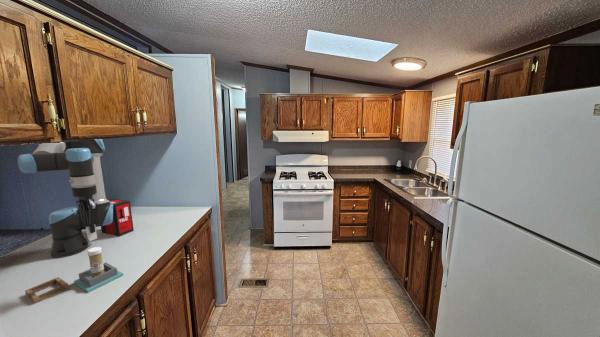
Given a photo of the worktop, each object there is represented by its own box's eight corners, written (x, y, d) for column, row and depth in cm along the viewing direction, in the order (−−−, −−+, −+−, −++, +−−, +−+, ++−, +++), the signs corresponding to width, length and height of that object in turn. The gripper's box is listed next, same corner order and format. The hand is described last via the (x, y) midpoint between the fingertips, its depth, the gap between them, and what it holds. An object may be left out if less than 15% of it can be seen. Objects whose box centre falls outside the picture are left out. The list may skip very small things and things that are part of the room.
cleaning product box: (101, 232, 154) (96, 202, 151) (116, 227, 163) (112, 198, 159) (119, 236, 149) (115, 205, 145) (133, 230, 157) (129, 201, 153)
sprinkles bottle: (92, 281, 104) (87, 252, 102) (91, 277, 107) (86, 249, 105) (106, 277, 107) (101, 249, 105) (104, 272, 111) (100, 245, 108)
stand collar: (25, 295, 98) (24, 290, 97) (59, 281, 106) (58, 277, 106) (35, 303, 93) (34, 298, 93) (69, 288, 102) (68, 283, 101)
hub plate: (74, 283, 105) (72, 274, 104) (108, 267, 116) (107, 260, 115) (88, 292, 99) (86, 283, 98) (123, 275, 110) (122, 267, 109)
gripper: (65, 186, 100) (74, 239, 104) (79, 189, 94) (89, 246, 98) (87, 182, 106) (95, 232, 110) (102, 185, 100) (110, 238, 104)
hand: (92, 239), depth 104 cm, fingers closed
